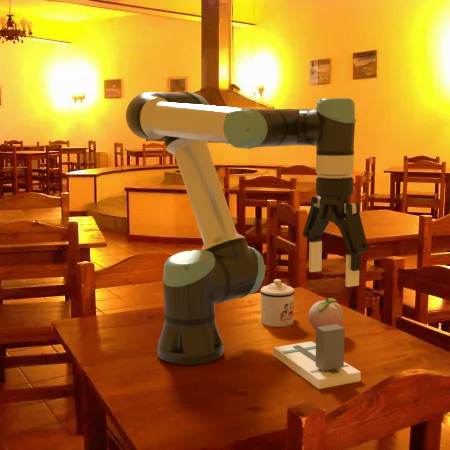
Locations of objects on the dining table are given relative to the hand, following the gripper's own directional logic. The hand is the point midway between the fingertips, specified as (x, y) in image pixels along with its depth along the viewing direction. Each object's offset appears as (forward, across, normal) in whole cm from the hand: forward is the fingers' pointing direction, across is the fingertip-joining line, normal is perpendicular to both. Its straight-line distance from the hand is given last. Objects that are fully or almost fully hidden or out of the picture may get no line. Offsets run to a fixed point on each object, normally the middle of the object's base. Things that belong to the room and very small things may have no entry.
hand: (332, 278), depth 133 cm
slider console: (+21, +5, +1) cm, 22 cm away
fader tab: (+18, -1, +1) cm, 19 cm away
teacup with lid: (+21, +36, -8) cm, 43 cm away
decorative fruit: (+21, +21, -12) cm, 32 cm away
